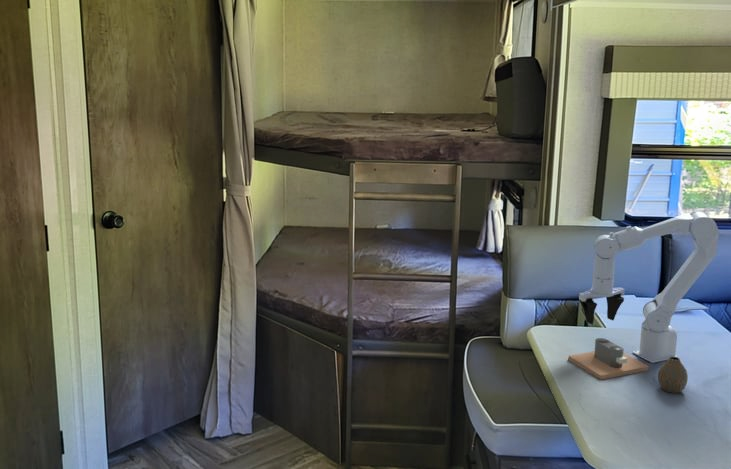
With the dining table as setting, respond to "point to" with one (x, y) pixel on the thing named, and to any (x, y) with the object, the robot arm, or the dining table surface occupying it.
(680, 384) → the vase
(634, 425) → the dining table surface
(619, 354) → the plug
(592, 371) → the mat
